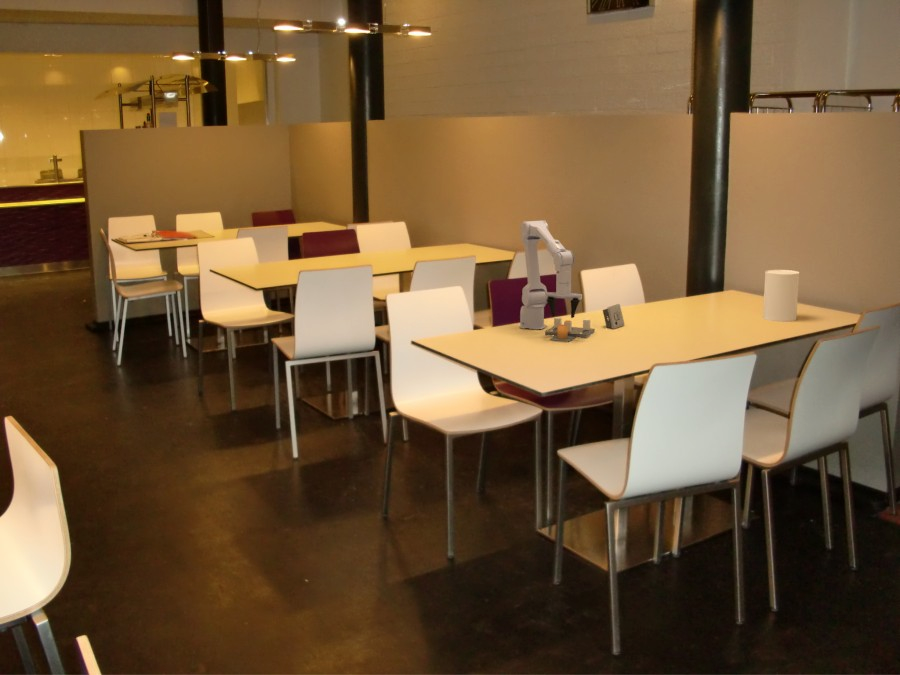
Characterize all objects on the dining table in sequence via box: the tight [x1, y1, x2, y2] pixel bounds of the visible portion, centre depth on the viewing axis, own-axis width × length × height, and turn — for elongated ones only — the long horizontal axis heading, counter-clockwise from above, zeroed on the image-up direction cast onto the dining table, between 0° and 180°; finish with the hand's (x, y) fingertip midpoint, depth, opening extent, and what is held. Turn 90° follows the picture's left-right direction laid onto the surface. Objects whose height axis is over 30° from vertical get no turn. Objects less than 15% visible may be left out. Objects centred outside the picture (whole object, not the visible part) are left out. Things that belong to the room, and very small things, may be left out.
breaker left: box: [553, 316, 563, 328], centre depth 371 cm, size 2×2×4 cm
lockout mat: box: [548, 335, 576, 343], centre depth 357 cm, size 8×8×1 cm
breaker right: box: [582, 318, 591, 330], centre depth 366 cm, size 2×2×4 cm
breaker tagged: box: [563, 319, 573, 332], centre depth 363 cm, size 2×2×4 cm
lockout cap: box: [557, 324, 568, 339], centre depth 357 cm, size 4×4×5 cm
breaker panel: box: [544, 325, 596, 339], centre depth 366 cm, size 17×12×2 cm
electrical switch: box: [602, 303, 625, 330], centre depth 378 cm, size 9×5×9 cm, turn 141°
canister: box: [762, 269, 800, 323], centre depth 388 cm, size 14×14×20 cm
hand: (563, 316), depth 358 cm, fingers open, 7 cm apart
